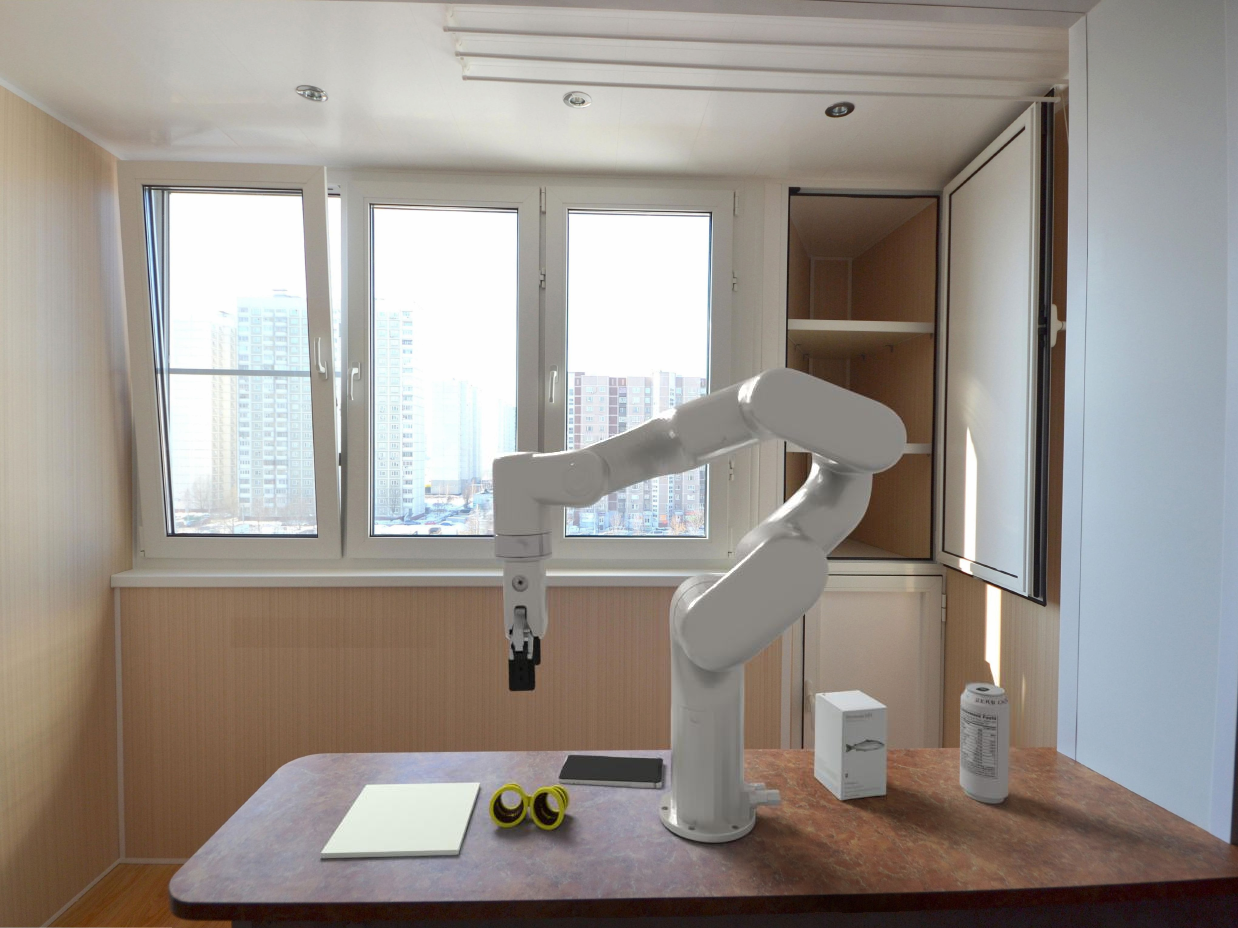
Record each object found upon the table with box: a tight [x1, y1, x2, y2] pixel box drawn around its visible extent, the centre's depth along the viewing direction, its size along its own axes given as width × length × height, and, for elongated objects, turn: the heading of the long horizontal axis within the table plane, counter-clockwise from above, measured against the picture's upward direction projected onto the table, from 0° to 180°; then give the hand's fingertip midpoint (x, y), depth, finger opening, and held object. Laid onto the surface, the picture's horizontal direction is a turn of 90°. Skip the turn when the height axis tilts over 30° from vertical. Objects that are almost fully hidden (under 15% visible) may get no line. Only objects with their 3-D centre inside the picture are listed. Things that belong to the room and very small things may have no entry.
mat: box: [320, 781, 481, 859], centre depth 86 cm, size 16×16×1 cm
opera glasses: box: [488, 782, 570, 831], centre depth 86 cm, size 10×5×5 cm, turn 85°
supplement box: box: [813, 689, 888, 801], centre depth 94 cm, size 7×7×13 cm
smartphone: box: [558, 754, 664, 789], centre depth 98 cm, size 8×1×15 cm
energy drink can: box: [959, 681, 1011, 804], centre depth 92 cm, size 6×6×15 cm
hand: (525, 676), depth 86 cm, fingers open, 9 cm apart
